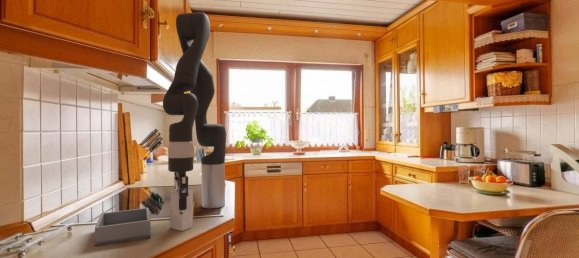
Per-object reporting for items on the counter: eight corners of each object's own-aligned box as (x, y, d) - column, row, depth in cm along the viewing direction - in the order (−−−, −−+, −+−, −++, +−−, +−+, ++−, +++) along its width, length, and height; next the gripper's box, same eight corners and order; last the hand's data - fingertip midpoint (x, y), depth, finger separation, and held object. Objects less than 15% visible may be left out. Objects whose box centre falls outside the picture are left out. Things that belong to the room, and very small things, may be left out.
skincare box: (169, 228, 94) (169, 190, 94) (180, 224, 98) (180, 187, 98) (182, 231, 91) (182, 192, 91) (194, 227, 95) (193, 189, 95)
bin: (101, 229, 94) (101, 213, 94) (148, 222, 100) (148, 207, 100) (95, 246, 80) (94, 227, 80) (150, 237, 86) (150, 220, 86)
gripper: (197, 157, 90) (197, 210, 90) (189, 153, 103) (189, 201, 102) (170, 158, 87) (170, 214, 86) (166, 154, 99) (166, 203, 99)
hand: (180, 206), depth 94 cm, fingers open, 8 cm apart
